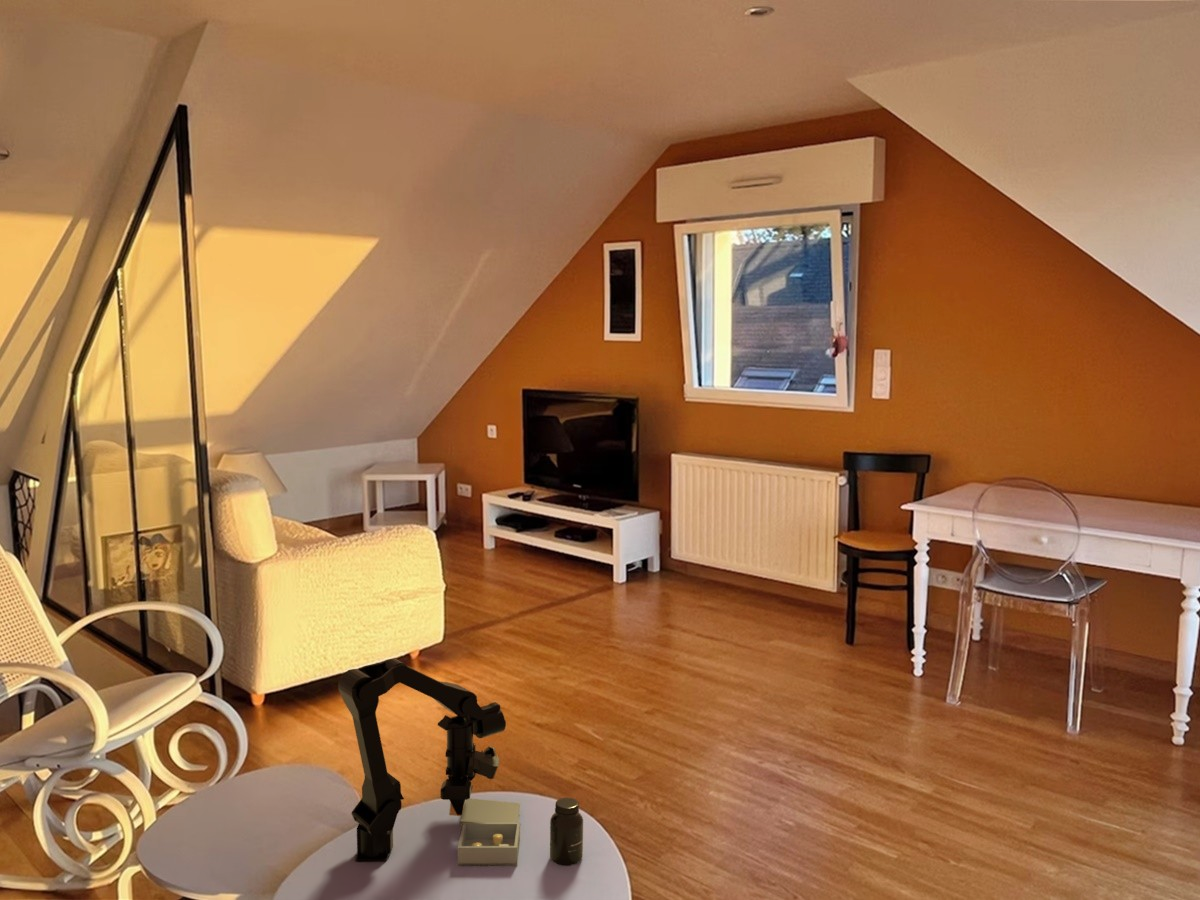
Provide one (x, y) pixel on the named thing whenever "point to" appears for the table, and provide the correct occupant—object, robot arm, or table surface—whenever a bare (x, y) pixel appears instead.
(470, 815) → the lid
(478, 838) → the tub
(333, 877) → the table surface
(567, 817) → the supplement bottle
